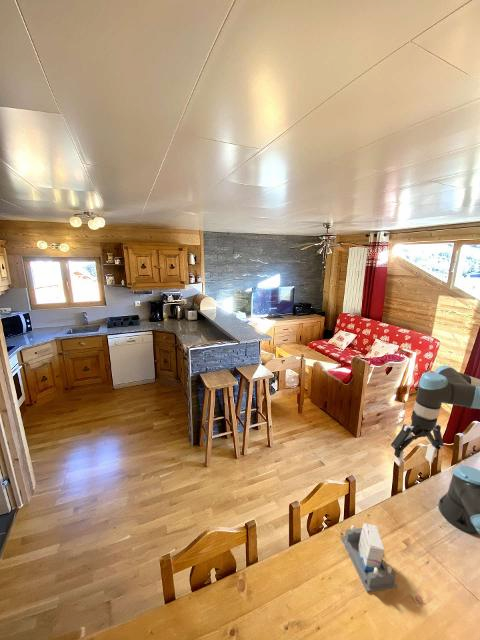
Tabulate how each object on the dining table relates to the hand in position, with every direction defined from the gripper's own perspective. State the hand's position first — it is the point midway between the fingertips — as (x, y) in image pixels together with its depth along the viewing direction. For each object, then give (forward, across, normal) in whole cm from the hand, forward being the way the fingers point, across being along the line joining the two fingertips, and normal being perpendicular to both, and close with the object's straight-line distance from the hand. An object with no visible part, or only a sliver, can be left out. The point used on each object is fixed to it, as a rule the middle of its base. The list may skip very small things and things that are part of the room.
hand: (413, 461), depth 101 cm
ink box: (+31, +21, +11) cm, 39 cm away
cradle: (+32, +21, +11) cm, 40 cm away
